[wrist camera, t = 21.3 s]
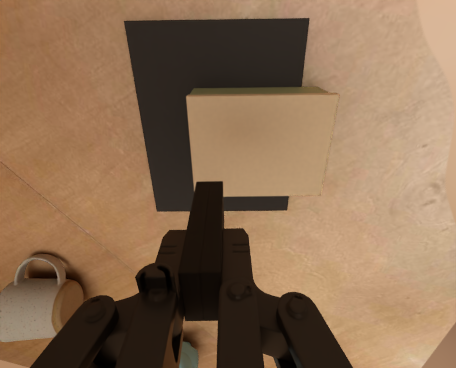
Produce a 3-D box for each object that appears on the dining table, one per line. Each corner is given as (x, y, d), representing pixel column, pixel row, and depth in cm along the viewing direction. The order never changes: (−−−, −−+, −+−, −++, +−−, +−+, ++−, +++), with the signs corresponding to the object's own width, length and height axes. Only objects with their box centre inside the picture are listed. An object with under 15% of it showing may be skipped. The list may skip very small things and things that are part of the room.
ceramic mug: (92, 301, 41) (66, 352, 34) (40, 302, 41) (3, 354, 35) (71, 249, 36) (35, 297, 29) (12, 251, 36) (-38, 298, 30)
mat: (125, 21, 23) (123, 21, 23) (308, 18, 23) (309, 18, 23) (157, 210, 33) (156, 211, 33) (286, 209, 33) (287, 210, 32)
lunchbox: (194, 197, 26) (321, 196, 25) (185, 96, 21) (340, 94, 21) (199, 173, 30) (307, 172, 30) (193, 86, 25) (320, 84, 25)
